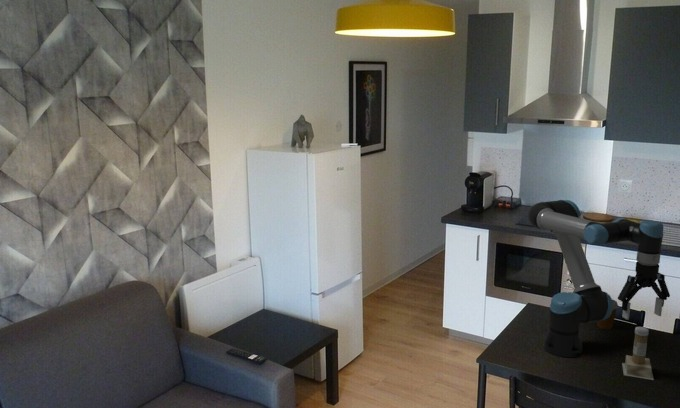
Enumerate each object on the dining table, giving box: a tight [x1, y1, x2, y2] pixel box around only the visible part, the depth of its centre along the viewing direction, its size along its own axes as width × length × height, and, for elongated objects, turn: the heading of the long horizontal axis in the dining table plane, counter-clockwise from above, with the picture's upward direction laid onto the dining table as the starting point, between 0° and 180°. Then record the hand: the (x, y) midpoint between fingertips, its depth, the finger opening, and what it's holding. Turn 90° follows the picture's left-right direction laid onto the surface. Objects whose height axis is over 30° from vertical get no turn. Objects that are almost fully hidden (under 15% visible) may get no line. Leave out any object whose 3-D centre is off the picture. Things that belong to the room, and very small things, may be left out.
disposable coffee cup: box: [596, 298, 619, 330], centre depth 257 cm, size 10×10×12 cm
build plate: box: [621, 362, 655, 381], centre depth 218 cm, size 10×10×1 cm
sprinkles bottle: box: [632, 326, 650, 364], centre depth 215 cm, size 5×5×14 cm
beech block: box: [624, 354, 652, 378], centre depth 217 cm, size 8×8×4 cm
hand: (641, 316), depth 214 cm, fingers open, 13 cm apart
